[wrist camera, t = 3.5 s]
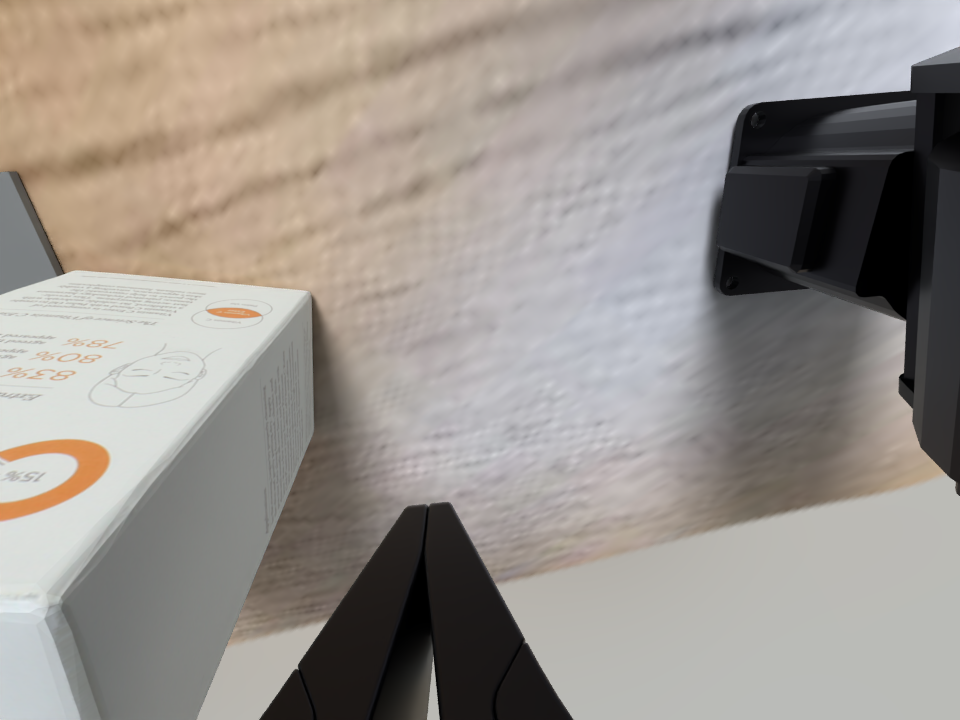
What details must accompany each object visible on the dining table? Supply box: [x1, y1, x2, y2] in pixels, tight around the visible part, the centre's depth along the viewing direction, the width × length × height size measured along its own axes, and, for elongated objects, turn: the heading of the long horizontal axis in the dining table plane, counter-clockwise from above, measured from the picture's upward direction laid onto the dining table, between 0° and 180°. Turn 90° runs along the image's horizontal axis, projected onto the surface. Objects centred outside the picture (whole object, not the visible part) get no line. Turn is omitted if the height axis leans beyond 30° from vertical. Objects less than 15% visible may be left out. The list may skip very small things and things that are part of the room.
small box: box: [0, 270, 314, 720], centre depth 11 cm, size 8×6×13 cm
